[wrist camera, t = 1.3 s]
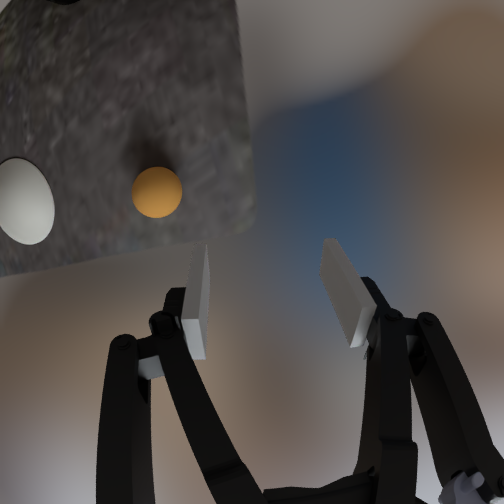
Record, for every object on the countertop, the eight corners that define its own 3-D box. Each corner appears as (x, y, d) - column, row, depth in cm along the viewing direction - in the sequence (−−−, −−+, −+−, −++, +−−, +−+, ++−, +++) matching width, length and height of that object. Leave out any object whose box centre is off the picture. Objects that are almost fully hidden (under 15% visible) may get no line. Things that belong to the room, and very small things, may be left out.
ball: (136, 163, 31) (121, 177, 26) (183, 159, 31) (175, 172, 27) (142, 207, 34) (130, 228, 29) (187, 204, 34) (180, 224, 29)
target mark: (-17, 168, 28) (-18, 168, 27) (43, 149, 28) (43, 150, 28) (5, 246, 34) (4, 246, 34) (64, 241, 35) (64, 241, 35)
